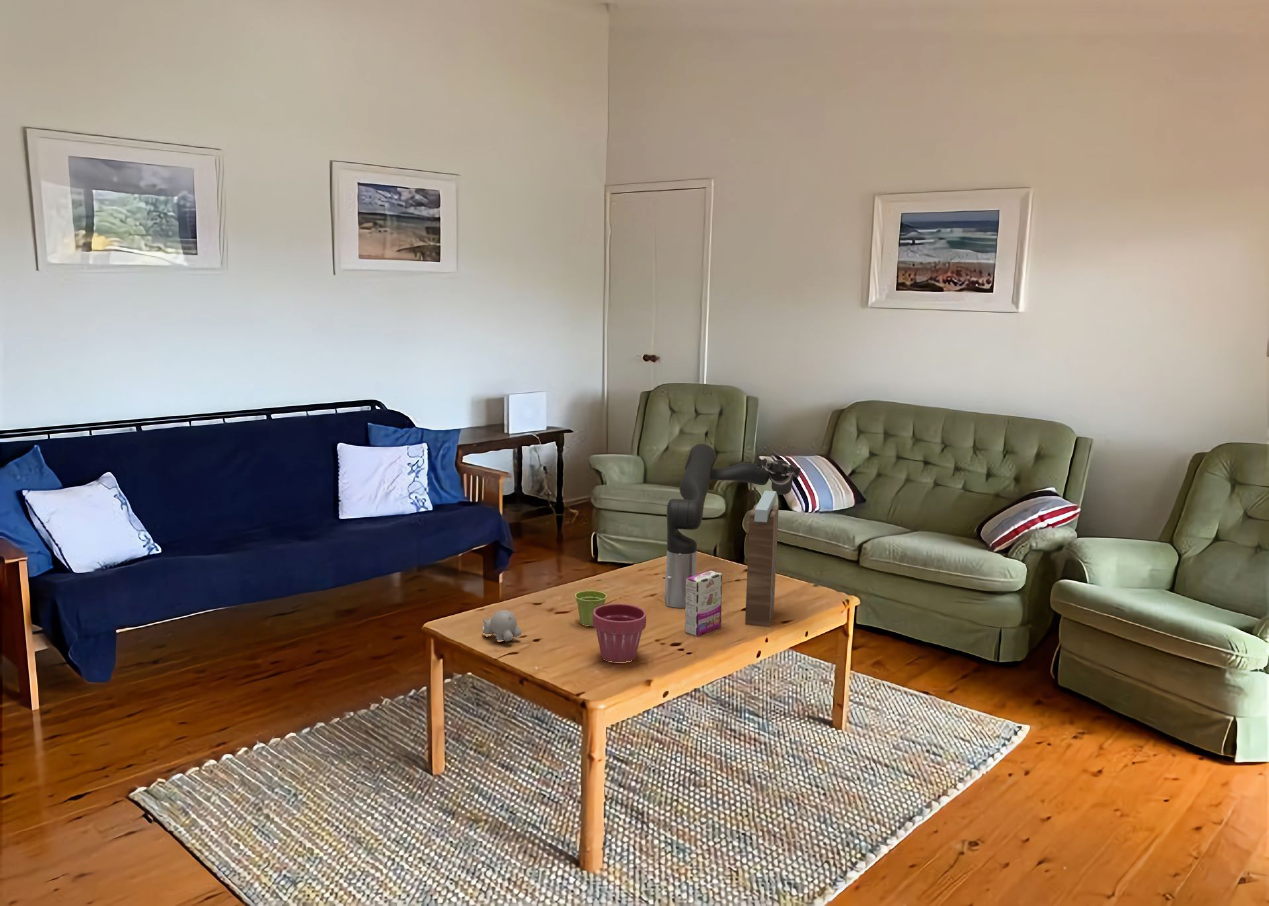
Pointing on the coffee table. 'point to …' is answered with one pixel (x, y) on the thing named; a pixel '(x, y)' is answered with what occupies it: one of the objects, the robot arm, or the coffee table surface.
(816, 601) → the coffee table surface
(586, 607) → the plant pot
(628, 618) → the plant pot
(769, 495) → the rail
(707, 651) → the coffee table surface
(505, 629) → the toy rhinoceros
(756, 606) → the post
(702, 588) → the candy bar box
